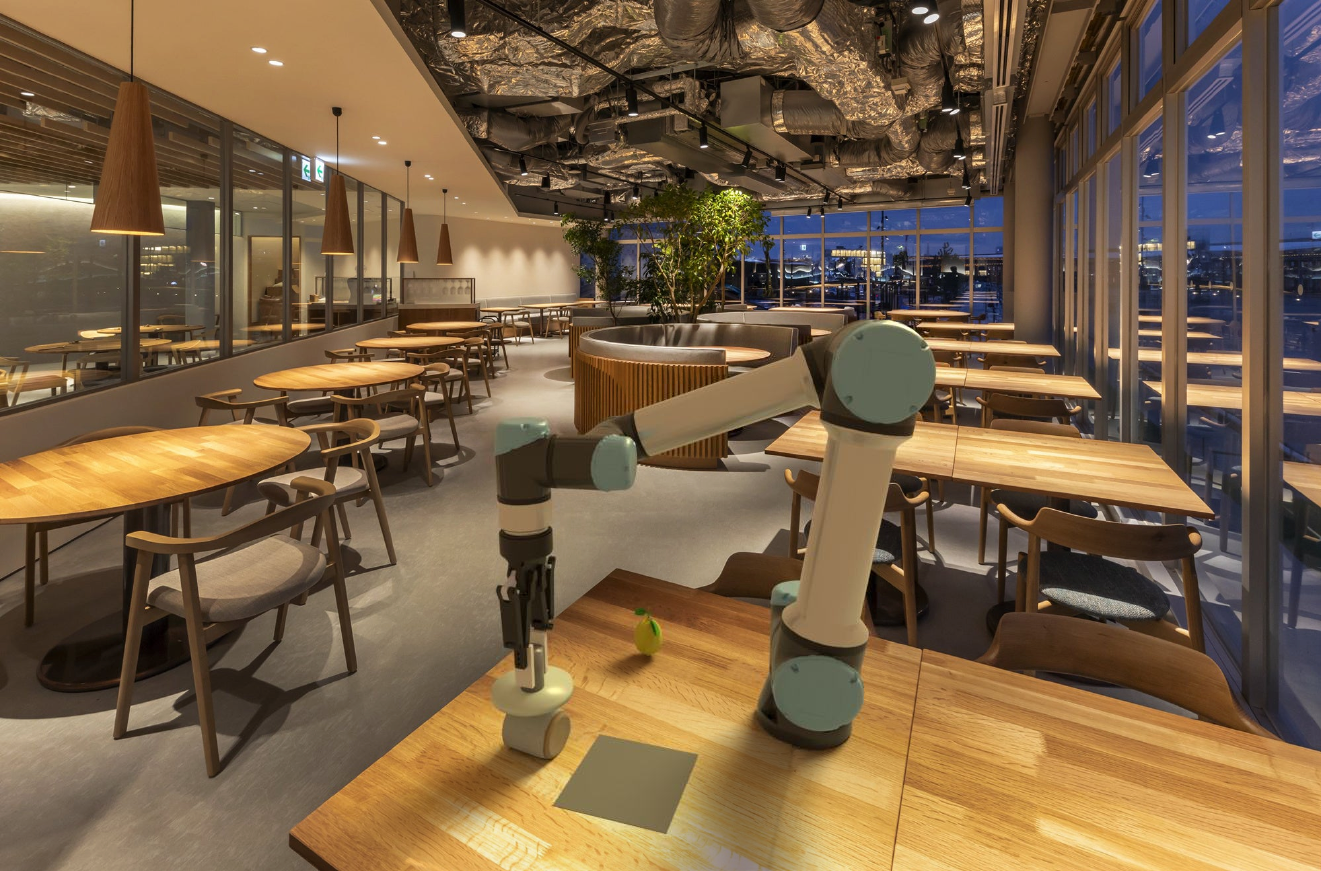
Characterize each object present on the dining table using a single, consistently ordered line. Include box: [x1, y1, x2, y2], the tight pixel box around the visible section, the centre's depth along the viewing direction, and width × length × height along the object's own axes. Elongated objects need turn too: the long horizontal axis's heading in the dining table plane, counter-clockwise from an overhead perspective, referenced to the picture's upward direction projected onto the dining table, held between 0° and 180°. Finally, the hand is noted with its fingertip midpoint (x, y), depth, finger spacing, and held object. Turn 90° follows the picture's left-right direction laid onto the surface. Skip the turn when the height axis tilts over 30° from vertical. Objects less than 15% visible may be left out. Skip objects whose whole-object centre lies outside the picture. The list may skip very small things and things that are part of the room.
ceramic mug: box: [501, 707, 573, 760], centre depth 102 cm, size 11×8×8 cm
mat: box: [552, 733, 700, 834], centre depth 95 cm, size 16×16×1 cm
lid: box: [490, 643, 574, 717], centre depth 99 cm, size 12×12×7 cm
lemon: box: [633, 606, 664, 657], centre depth 128 cm, size 7×6×10 cm
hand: (532, 678), depth 99 cm, fingers closed on lid, 3 cm apart
